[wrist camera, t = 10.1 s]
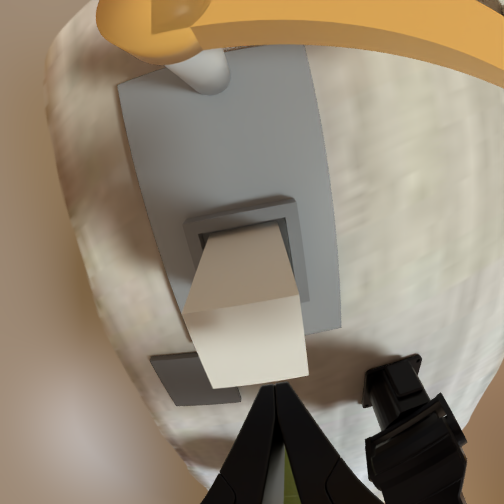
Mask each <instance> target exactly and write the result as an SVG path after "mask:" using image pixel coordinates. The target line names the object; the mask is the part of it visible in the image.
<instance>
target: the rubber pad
mask: <svg viewBox="0 0 504 504" xmlns="http://www.w3.org/2000/svg"><path fill="white" fill-rule="evenodd" d="M150 362H151V364H152V366H153V368H154V370H155V371H156V373H157V375H158V377H159V378H160V380H161V382H162V383H163V385H164V387H165V389H166V390H167V392H168V393H169V395H170V397H171V398H172V400H173V402H174V403H175V405H176V406H195V405H212V404H225V403H236V402H241V396H240V393H239V391H238V388H237V386H236V387H226V388H216V389H213V387H212V385H211V383H210V381H209V378H208V376H207V374H206V372H205V369H204V367H203V365H202V362H201V360H200V358H199V355H198V353H189V354H178V355H166V356H152V357H151V359H150Z"/></svg>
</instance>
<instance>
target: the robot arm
mask: <svg viewBox="0 0 504 504" xmlns="http://www.w3.org/2000/svg"><path fill="white" fill-rule="evenodd" d="M421 361H422V358H421V356H420V355H416V356H413V357H410V358H407V359H404V360H401V361H398V362H395V363H392V364H389V365H385V366H382V367H378V368H375V369H371V370H369V371H367V372H366V374H365V382H364V391H363V399H362V406H363V408H368V407H371V406H373V409H374V412H375V415H376V417H377V420H378V423H379V426H380V428H381V432H379V433H378V434H376V435H374V436H372V437H369V438H367V439H365V445H366V446H365V451H366V460H367V469H368V479H369V481H371V482H373V484H374V485H375V487H376V488H377V489H378V490H380V491H382V494H383V497H384V501H385V504H467V503H466V501H465V498H464V496H463V493H462V487H463V483H464V477H465V472H466V466H467V458H466V456H465V454H464V452H463V449H462V446H463V445H465V444H466V443H467V440H466V438H465V436H464V434H463V432H462V430H461V428H460V426H459V424H458V422H457V420H456V419H455V417H454V415H453V413H452V411H451V409H450V408H449V406H448V404H447V402H446V400H445V399H444V397H443V395H442V393H441V392H440V393H439V394H438V395H436V397H435V398H433V399H432V400H430V398H429V396H428V394H427V393H426V391H425V389H424V387H423V385H422V383H421V381H420V379H419V377H418V372H419V369H420V365H421ZM445 415H447V416H445ZM443 416H445V417H443ZM285 449H286V452H287V456H288V460H289V463H290V467H291V470H292V474H293V477H294V481H295V484H296V488H297V491H298V495H299V498H300V502H301V504H384V503H383V502H382V501H381V500H380V499H379V498H378V497H377V496H375V495H374V494H373V493H372V492H371V491H370V490H369V489H368V488H367V487H366V486H365V485H364V484H363V483H362V482H361V481H360V480H359V479H358V478H357V477H356V475H355V474H354V473H353V472H352V470H351V469H350V468H349V467H348V466H347V464H346V463H345V461H344V460H343V459H342V458H340V455H339V454H338V452H337V451H336V449H335V448H334V447H333V445H332V444H331V443H330V441H329V440H328V438H327V437H326V436H325V434H324V433H323V431H322V430H321V429H320V427H319V426H318V424H317V423H316V421H315V420H314V419H313V417H312V416H311V414H310V413H309V411H308V410H307V409H306V407H305V406H304V404H303V403H302V401H301V400H300V398H299V397H298V395H297V394H296V392H295V391H294V390H293V388H292V387H291V385H290V384H289V382H287V381H285V382H280V383H276V384H275V385H274V384H268V385H262V386H261V387H260V389H259V392H258V394H257V396H256V398H255V400H254V402H253V405H252V407H251V409H250V411H249V413H248V415H247V417H246V420H245V422H244V424H243V426H242V428H241V430H240V432H239V434H238V436H237V438H236V440H235V442H234V444H233V446H232V448H231V450H230V452H229V454H228V456H227V458H226V460H225V462H224V464H223V466H222V468H221V470H220V473H221V474H220V473H219V474H218V475H217V477H216V479H215V481H214V483H213V485H212V486H211V488H210V490H209V491H208V493H207V495H206V496H205V498H204V499H203V501H202V502H201V503H200V504H283V502H284V466H285Z"/></svg>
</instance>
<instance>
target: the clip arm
mask: <svg viewBox="0 0 504 504" xmlns="http://www.w3.org/2000/svg"><path fill="white" fill-rule="evenodd" d="M96 23H97V27H98V29H99V31H100V33H101V35H102V36H103V37H104V38H105V39H106V40H107V41H109V42H110V43H112V44H114V45H116V46H117V47H119V48H121V49H123V50H124V51H126V52H128V53H129V54H131V55H133V56H134V57H136V58H138V59H139V60H141V61H143V62H146V63H149V64H153V65H171V64H176V63H180V62H183V61H186V60H188V59H190V58H192V57H194V56H195V55H197V54H199V53H200V52H201V51H203V50H208V49H217V48H226V47H237V46H251V45H278V44H294V45H321V46H335V47H346V48H355V49H363V50H370V51H377V52H383V53H388V54H394V55H399V56H404V57H408V58H413V59H417V60H421V61H425V62H429V63H433V64H437V65H440V66H444V67H447V68H450V69H453V70H456V71H460V72H463V73H465V74H468V75H471V76H474V77H477V78H479V79H482V80H484V81H487V82H489V83H492V84H494V85H497V86H499V87H501V88H504V16H502V15H501V14H499V13H497V12H496V11H494V10H492V9H491V8H489V7H487V6H485V5H484V4H482V3H480V2H478V1H476V0H99V3H98V6H97V11H96Z"/></svg>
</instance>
